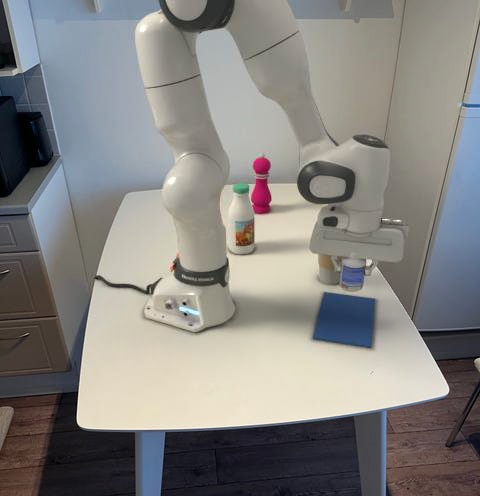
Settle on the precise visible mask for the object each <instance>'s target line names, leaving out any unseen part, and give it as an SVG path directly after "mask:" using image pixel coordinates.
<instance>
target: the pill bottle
mask: <svg viewBox="0 0 480 496" xmlns="http://www.w3.org/2000/svg"><path fill="white" fill-rule="evenodd" d="M341 266H342V267H341V275H340V282H339V287H340V289H341V290H342V291H345V292H349V293H357V292H360V291H361V290H363V287H364V282H365V276H364V274H365V268H366V266H367V259H360V258H359V256H358V253H351V255H350V256H349V257H343V258H342V265H341Z"/></svg>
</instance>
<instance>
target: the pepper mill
mask: <svg viewBox="0 0 480 496" xmlns="http://www.w3.org/2000/svg"><path fill="white" fill-rule="evenodd" d="M258 156H259V157H257V158H255V159H254V161H253V163H252V169H253V171H254V173H253V176H254V177H253V178H255V182H254V183H255V184H254V187H253V190H252V191H251V195H250V202H251V204H252V206H253V209H254V214H259V215H264V214H268V213H269V212H271V205H270V204H271V202H272V193H271V191H270V188H269V185H268V184H269V183H268V181H269V180H268V179H269V178H270V172H269V171H270V170H271V167H272V166H271V165H272V164H271V161H270V160H269V159H268V158H267V157H265V154H264V153H263V152H260V153H259V155H258Z"/></svg>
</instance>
